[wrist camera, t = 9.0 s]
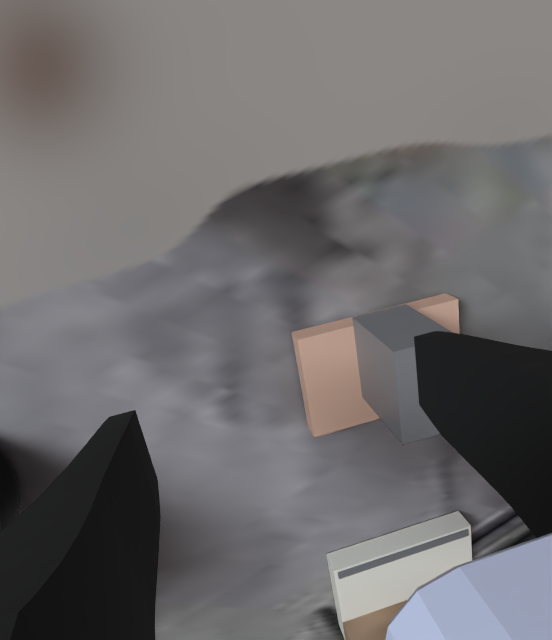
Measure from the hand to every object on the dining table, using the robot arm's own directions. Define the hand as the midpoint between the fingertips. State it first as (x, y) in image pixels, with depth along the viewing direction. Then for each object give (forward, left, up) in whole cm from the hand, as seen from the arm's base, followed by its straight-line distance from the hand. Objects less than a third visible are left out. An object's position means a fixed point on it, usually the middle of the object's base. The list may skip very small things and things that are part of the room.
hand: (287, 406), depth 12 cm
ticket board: (-6, +18, -9) cm, 21 cm away
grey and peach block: (-6, +4, -9) cm, 12 cm away
